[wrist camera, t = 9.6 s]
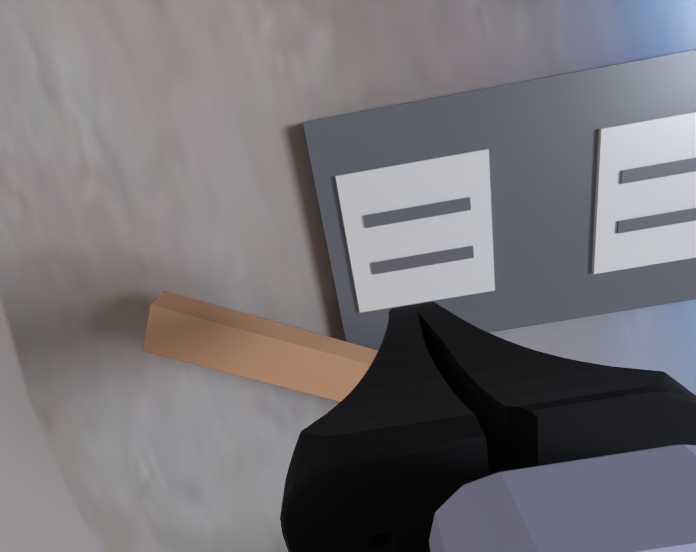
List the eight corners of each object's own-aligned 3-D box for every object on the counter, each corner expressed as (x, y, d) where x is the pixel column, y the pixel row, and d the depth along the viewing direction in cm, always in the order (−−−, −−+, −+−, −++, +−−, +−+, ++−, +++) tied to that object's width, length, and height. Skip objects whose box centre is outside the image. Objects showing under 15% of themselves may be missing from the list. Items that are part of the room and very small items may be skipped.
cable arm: (481, 372, 21) (491, 390, 19) (456, 420, 22) (464, 440, 20) (166, 283, 19) (152, 296, 17) (155, 341, 20) (141, 358, 18)
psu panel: (729, 285, 22) (748, 293, 21) (348, 347, 23) (348, 357, 22) (775, 35, 18) (802, 30, 17) (304, 122, 18) (302, 122, 17)
